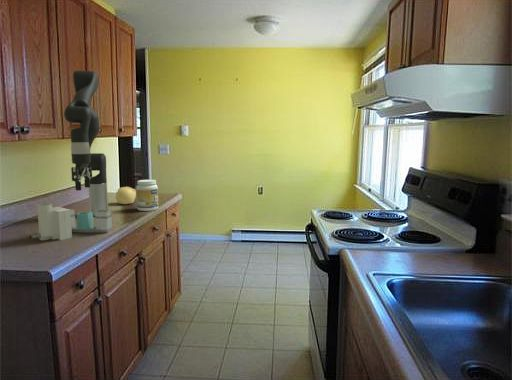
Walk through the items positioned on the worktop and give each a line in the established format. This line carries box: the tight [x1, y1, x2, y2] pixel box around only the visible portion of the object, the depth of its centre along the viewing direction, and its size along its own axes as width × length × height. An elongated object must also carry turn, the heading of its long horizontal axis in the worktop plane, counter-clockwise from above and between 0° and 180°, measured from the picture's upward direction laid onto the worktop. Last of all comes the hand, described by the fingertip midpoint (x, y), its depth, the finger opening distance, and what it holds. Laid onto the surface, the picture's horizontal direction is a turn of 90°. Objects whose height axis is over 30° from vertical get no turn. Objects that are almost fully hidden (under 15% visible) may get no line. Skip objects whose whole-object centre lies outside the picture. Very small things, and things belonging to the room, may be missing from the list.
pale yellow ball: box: [115, 186, 136, 205], centre depth 240 cm, size 12×12×11 cm
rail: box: [68, 208, 113, 234], centre depth 173 cm, size 5×22×10 cm, turn 89°
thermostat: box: [29, 202, 73, 241], centre depth 161 cm, size 12×14×15 cm
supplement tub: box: [135, 179, 159, 212], centre depth 222 cm, size 12×12×17 cm
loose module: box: [76, 210, 95, 229], centre depth 173 cm, size 5×5×7 cm
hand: (83, 188), depth 172 cm, fingers open, 8 cm apart
